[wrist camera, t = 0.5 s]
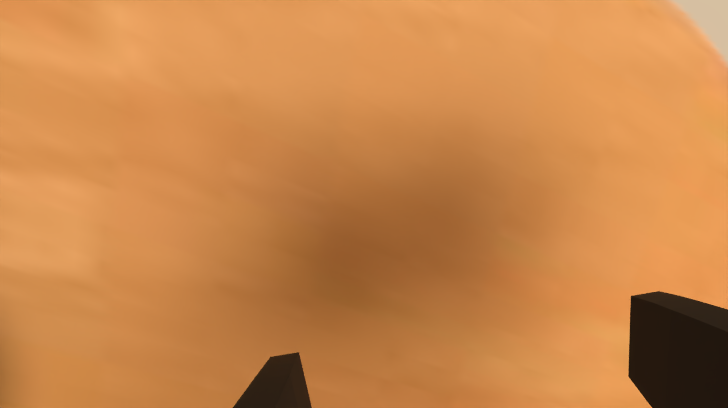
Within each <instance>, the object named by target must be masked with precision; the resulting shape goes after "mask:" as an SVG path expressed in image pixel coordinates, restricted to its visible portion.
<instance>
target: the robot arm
mask: <svg viewBox="0 0 728 408" xmlns="http://www.w3.org/2000/svg"><path fill="white" fill-rule="evenodd" d="M629 378H630V379H631V380H632V382H633V383H634V384H635V386H636V387H637V388H638V390H639V391H640V392H641V394H642V395H643V396H644V398H645V399H646V400H647V402H648V403H649V404H650V405H651V407H652V408H728V310H727V309H724V308H721V307H717V306H714V305H710V304H707V303H703V302H700V301H696V300H693V299H689V298H685V297H681V296H677V295H673V294H669V293H664V292H659V291H658V292H652V293H646V294H640V295H635V296H631V312H630V345H629ZM233 408H312V407H311V403H310V398H309V394H308V390H307V385H306V381H305V377H304V372H303V368H302V364H301V360H300V355H299V352H298V353H292V354H286V355H280V356H274V357H270V359H269V360H268V361H267V362H266V364H265V365H264V366H263V368H262V369H261V370H260V372H259V373H258V374H257V376H256V377H255V378H254V380H253V381H252V382H251V384H250V385H249V387H248V388H247V389H246V391H245V392H244V393H243V395H242V396H241V397H240V399H239V400H238V401H237V403H236V404H235V405H234V407H233Z"/></svg>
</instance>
